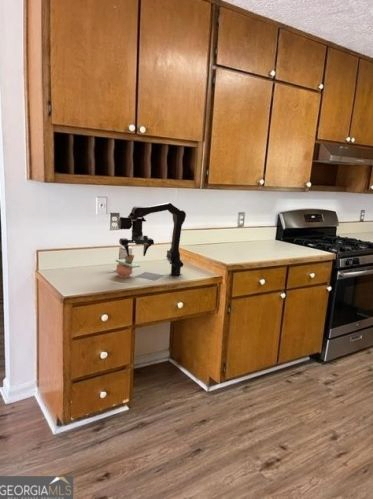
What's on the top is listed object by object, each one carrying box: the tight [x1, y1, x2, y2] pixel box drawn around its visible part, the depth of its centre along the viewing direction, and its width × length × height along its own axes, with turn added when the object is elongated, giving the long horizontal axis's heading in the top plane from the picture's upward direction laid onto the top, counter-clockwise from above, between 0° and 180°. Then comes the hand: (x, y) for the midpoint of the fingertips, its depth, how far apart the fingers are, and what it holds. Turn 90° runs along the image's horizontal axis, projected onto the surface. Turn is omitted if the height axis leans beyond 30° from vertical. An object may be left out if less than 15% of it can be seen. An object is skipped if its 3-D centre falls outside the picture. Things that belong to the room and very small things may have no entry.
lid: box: [115, 253, 141, 269], centre depth 214 cm, size 11×11×6 cm
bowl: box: [115, 263, 133, 279], centre depth 215 cm, size 9×9×7 cm
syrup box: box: [118, 245, 133, 264], centre depth 230 cm, size 6×6×14 cm
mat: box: [134, 271, 165, 281], centre depth 219 cm, size 13×13×1 cm
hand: (136, 256), depth 213 cm, fingers open, 9 cm apart
